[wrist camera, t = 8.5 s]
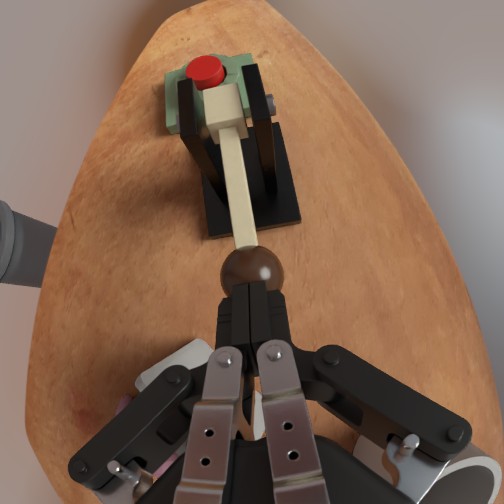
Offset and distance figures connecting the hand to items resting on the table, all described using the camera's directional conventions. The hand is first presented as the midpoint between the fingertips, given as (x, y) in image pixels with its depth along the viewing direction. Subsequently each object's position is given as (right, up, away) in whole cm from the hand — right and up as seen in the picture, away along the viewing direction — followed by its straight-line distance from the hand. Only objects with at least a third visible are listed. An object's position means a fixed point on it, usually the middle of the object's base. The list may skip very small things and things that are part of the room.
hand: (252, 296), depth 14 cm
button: (-5, +20, +13) cm, 24 cm away
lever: (-1, +5, +4) cm, 7 cm away
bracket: (0, +9, +14) cm, 17 cm away
